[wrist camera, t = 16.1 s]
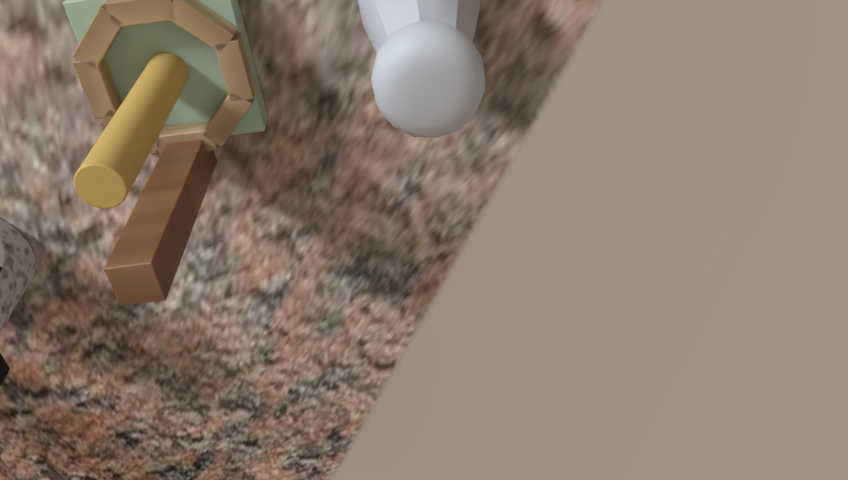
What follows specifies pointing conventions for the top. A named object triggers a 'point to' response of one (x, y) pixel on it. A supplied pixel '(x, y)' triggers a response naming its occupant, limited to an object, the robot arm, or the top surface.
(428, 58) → the salt shaker
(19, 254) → the mug
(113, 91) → the brown l-shaped piece
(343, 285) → the top surface
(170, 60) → the stand
